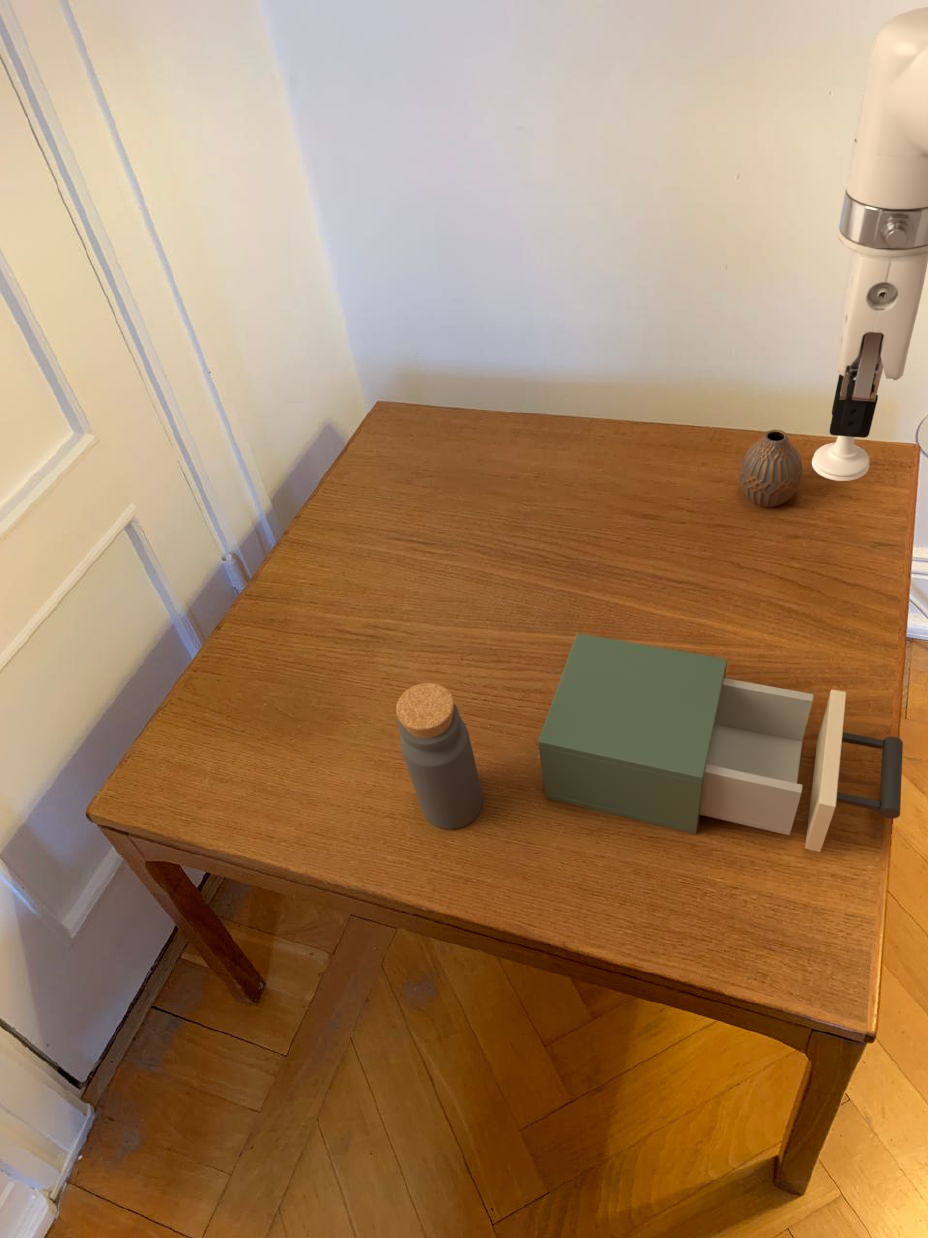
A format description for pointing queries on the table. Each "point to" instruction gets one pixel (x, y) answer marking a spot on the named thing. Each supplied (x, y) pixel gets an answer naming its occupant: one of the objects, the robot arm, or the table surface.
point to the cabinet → (632, 730)
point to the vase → (770, 470)
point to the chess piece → (841, 460)
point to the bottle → (439, 756)
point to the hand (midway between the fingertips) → (849, 423)
